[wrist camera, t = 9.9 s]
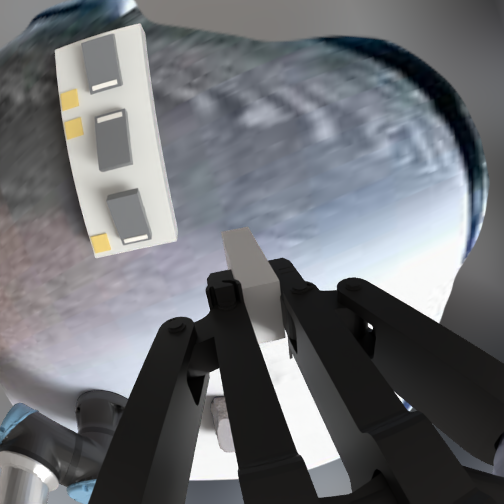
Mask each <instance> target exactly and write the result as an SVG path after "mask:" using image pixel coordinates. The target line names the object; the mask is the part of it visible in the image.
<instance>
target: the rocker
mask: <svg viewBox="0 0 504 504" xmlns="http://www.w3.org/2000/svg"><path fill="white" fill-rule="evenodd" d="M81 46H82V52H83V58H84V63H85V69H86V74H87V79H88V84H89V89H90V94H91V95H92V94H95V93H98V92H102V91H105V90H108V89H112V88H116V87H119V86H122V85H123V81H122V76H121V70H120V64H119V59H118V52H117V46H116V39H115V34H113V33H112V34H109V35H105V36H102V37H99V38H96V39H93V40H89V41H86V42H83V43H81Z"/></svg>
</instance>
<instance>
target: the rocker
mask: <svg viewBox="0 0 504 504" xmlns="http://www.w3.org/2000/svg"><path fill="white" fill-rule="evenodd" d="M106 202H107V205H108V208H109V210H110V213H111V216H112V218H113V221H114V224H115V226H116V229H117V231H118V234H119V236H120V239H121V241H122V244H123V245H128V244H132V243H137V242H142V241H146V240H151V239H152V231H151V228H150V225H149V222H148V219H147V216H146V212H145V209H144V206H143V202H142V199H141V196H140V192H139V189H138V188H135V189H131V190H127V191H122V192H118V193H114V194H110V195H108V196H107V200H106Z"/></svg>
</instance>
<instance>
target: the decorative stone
mask: <svg viewBox="0 0 504 504" xmlns="http://www.w3.org/2000/svg"><path fill="white" fill-rule="evenodd" d="M211 412H212V415H213V417H214V420H213V422H214V426H215V431H216V435H217V438H218V442H219V446H220V448H221V449H223V450H224V452H235V448H234V443H233V438H232V433H231V428H230V423H229V418H228V413H227V407H226V402H225V397H215V398H214V399H213V401H212V403H211Z"/></svg>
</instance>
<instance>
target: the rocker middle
mask: <svg viewBox="0 0 504 504" xmlns="http://www.w3.org/2000/svg"><path fill="white" fill-rule="evenodd" d="M95 133H96V145H97V156H98V165H99V170H100V171H101V172H106V171H109V170H113V169H117V168H121V167H125V166H129V165H133V158H132V150H131V142H130V133H129V123H128V113H127V111H126V109H125V108H124V109H120V110H116V111H113V112H109V113H106V114H102V115H99V116H95Z"/></svg>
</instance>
